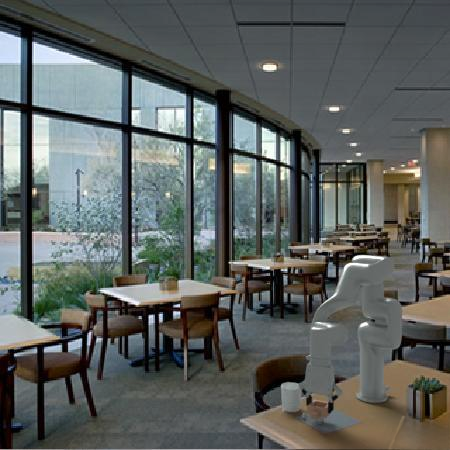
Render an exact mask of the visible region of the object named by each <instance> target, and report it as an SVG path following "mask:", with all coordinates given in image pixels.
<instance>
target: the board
mask: <svg viewBox="0 0 450 450" xmlns="http://www.w3.org/2000/svg"><path fill="white" fill-rule="evenodd" d="M294 418H295V419H296V420H297V419H298V420H299V421H300V422H303V423H304V424H306V425H308V426H310V427H312V428H313V429H315V430H316V431H317V430H318V432H320V433H322V434H324V435H326V434H329V433H332V432H336V431H339V430H342V429H345V428H348V427H349V428H350V427H352V426H355V425H358V424H362V423H363V421H360V420H358V419H356V418H353V417H352V416H350V415H347V414H345V413H343V412H341V411H340V410H338V409H336V408H334V410H333V411H332V412H331V413H330V414H329V416H328V417H327V418H324V417H319V418H318V419H317V420H314V419H311V415H309V414H307V413H305V412H303V413H302V414H300V415H297V416H295V417H294Z"/></svg>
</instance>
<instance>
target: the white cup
mask: <svg viewBox="0 0 450 450" xmlns="http://www.w3.org/2000/svg"><path fill="white" fill-rule="evenodd" d="M299 384H300V383H297V382H290V381H288V382H283V383H281V385H280V390H281V391H280V393H281V405H282V406H281V407H282V408H281V409H282V412H283V413H284V412H288V413H296V412H299V411H300V410H301V405H302V403H301V402H302V390H301V389H300V388H299V386H298V385H299Z"/></svg>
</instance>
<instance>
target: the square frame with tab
mask: <svg viewBox="0 0 450 450" xmlns="http://www.w3.org/2000/svg"><path fill="white" fill-rule="evenodd" d="M328 402H329V401H324V400H319V399H313V398H312V402H311V403H310V404H309V405H308V406H307V407H306V414H309V415H311V419H314V420H317V419H318V418H319V417H324V418H327V417H328V416H329V413H328Z"/></svg>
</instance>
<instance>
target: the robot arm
mask: <svg viewBox="0 0 450 450" xmlns="http://www.w3.org/2000/svg"><path fill="white" fill-rule="evenodd" d="M394 272H395V263H394V260H393V259H392V258H391V257H390V256H384V255H367V254H360V255H359V254H358V255H355V256H353V257H352V259H351V262H349V263H347V264H345V265H344V267H343V269H342V272H341V273H340V276H339V279H338V282H337V285H336V287H335V291H334V293H333V295H332V296H331V297H329V298H328V299H327V300H325V301H324V302H323V303H322V304H321V305H320V306H319V307H318V308H317V309H316V311H315V312H314V315H313V319H312V321H311V324H310V327H309V329H310V330H309V355H306V356H305V359H306V360H307V361H308V363H307V364H306V368H305V369H306V370H305V377H304V380H303V381H301V382H299V383H298V384H299V385H298V386H299V388H300V389H301V393H302V394H303V395H304V397H305V400H306V402H305V403H306V404H305V405H306V406H308V405H309V404H310V403H311V402H312V400H313V396H312V394H316V395H320V396H325V397H327V399H328V401H327V402H328V413H329V414H330V413H331V412H332V411H333V410H334V409H335V407H334V405H335V403H334V402H335V401H336V400H337V399H338V398H339V397H340V396H341V395H342V394H343V390H341V388H340V387H339V386H338V385H337V384H336V383H335V382H336V381H335V380H336V379H335V371H334V366H333V364H332V347H333V346H341V345H343V344H345V343H346V342H347V341H348V340H349V336H350V335H349V334H350V332H349V330H348V328H347V327H346V326H344V325H343V324H339V323H333V322H330V321H327V320H328V318H329V317H330V316H331V315H332V314H334V313H336V312H338V311H340V310H343V309H347V308H349V307H352V306H354V305H355V303H356V301H357V299H358V295H359V293H360V290H361V288H362V298H361V299H362V301H361V305H362V306H361V309H362V315H363V316H364V317H365V318H367V319H371V320H376V321H382V322H386V323H381V322H376V321H364V322H362V323H359V325H358V328H357V339H358V342H359V343H358V344H359V390H358V391H356V393H355V397H356V398H357V399H358V400H360V401H362V402H365V403H369V404H384V403H385V402H387V401H388V395H387V394H386V392H388V391H391V390H392V388H391V386H390V385H386V386H384V383H385V381H384V380H385V376H384V375H385V371H384V369H385V365H384V363H385V357H384V354H383V351H382V349H387V350H397V349H399V347H400V346H401V343H402V336H403V330H402V329H403V307H402V304H401V303H400V301H399V300H398V299H396V298H391V297H385V291H384V290H385V289H384V287H385V285H384V283H383V282H384V281H386V280H388V279H390V278H391V277H392V275H393V274H394ZM334 392H336V394H334Z"/></svg>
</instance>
